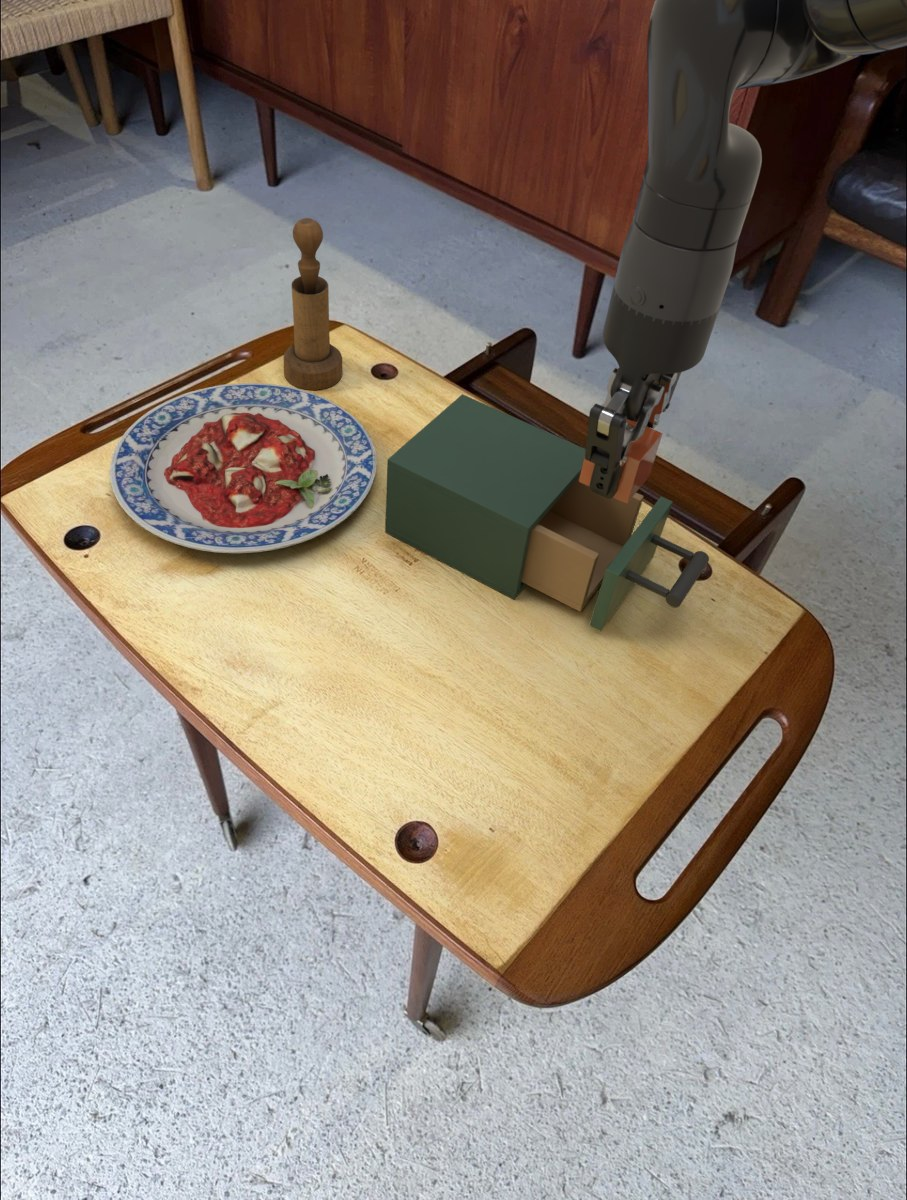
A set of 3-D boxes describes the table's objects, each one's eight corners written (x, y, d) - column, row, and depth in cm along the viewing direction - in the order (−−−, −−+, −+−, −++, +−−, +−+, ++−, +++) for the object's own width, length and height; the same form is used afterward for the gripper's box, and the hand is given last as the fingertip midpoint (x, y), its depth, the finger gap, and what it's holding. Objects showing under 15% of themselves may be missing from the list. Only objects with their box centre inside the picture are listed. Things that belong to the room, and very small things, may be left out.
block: (649, 475, 76) (662, 433, 72) (626, 504, 73) (639, 461, 70) (602, 454, 77) (613, 411, 74) (578, 481, 75) (588, 438, 71)
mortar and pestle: (304, 397, 100) (296, 242, 86) (273, 368, 103) (261, 214, 90) (353, 378, 103) (353, 226, 90) (322, 351, 106) (317, 200, 93)
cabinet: (577, 524, 90) (595, 453, 83) (514, 600, 82) (528, 528, 75) (454, 466, 94) (462, 393, 87) (384, 532, 87) (387, 459, 80)
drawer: (703, 582, 84) (727, 525, 79) (654, 659, 78) (676, 603, 72) (531, 500, 90) (542, 442, 85) (471, 565, 83) (479, 507, 78)
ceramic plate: (57, 481, 88) (50, 457, 85) (249, 371, 102) (247, 348, 100) (246, 611, 79) (242, 589, 76) (427, 470, 93) (428, 447, 91)
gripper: (678, 352, 57) (619, 543, 70) (754, 267, 65) (689, 451, 78) (573, 311, 59) (535, 503, 72) (660, 234, 68) (612, 418, 80)
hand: (615, 475), depth 75 cm, fingers closed on block, 4 cm apart
